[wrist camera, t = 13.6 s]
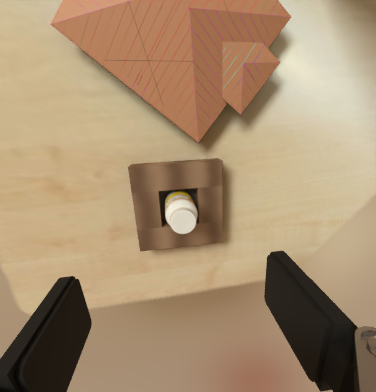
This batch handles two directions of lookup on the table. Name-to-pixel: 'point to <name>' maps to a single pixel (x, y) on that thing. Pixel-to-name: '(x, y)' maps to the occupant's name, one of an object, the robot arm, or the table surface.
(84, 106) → the table surface
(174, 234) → the holder
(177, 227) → the supplement bottle
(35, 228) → the table surface
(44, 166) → the table surface
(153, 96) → the house
